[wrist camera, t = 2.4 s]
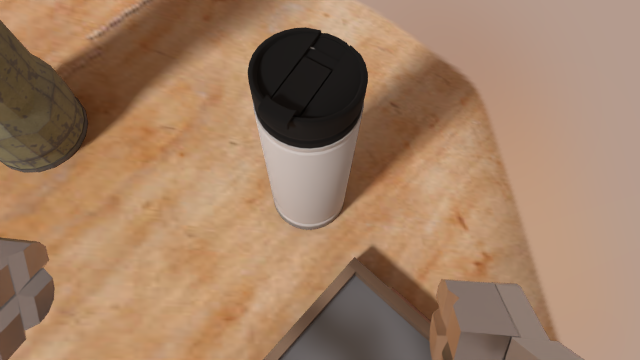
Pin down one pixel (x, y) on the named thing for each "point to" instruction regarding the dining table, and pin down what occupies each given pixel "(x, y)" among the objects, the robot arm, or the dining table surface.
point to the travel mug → (308, 120)
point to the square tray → (357, 323)
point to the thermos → (35, 111)
